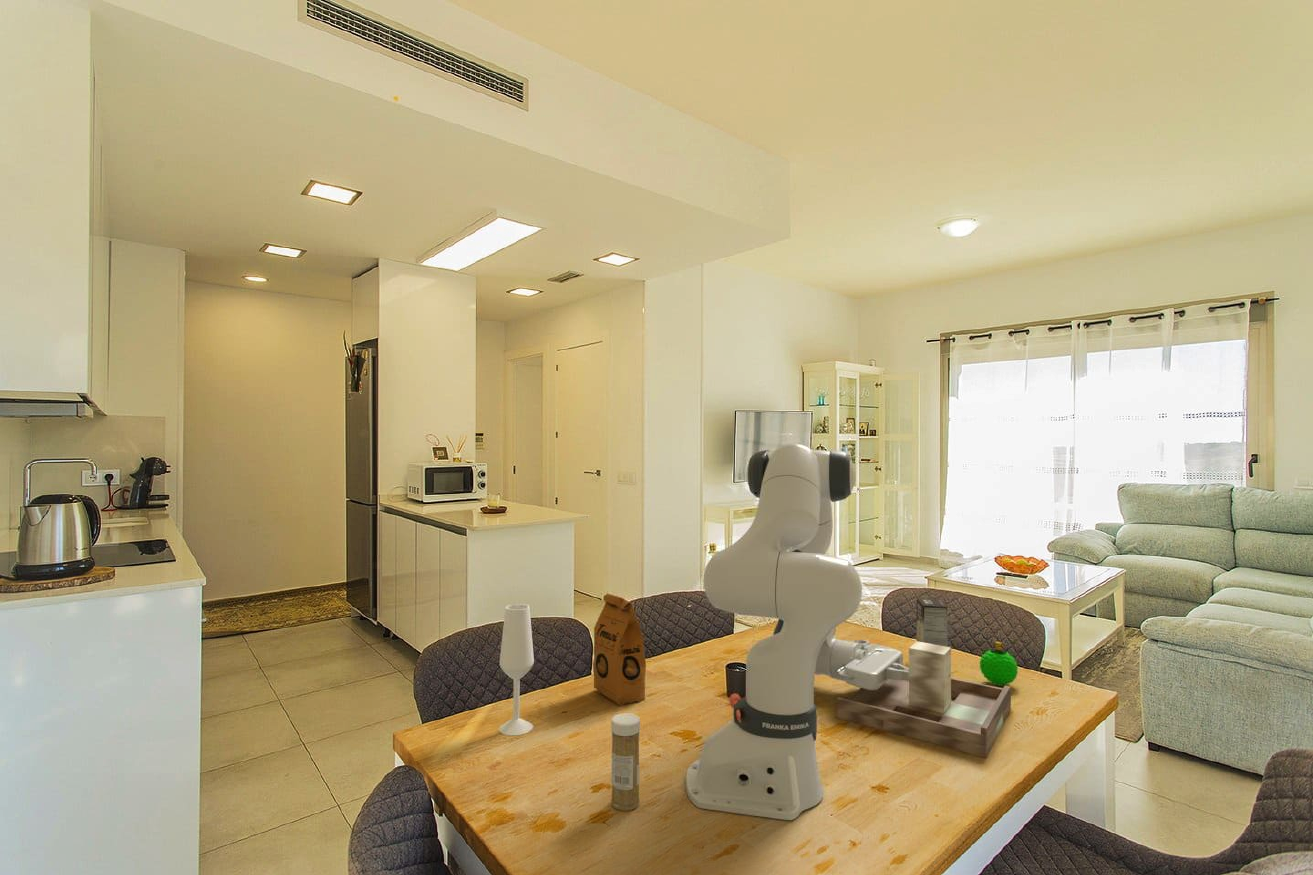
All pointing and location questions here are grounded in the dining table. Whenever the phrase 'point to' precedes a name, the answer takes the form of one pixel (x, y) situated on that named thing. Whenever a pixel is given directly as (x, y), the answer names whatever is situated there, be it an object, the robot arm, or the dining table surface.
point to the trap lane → (933, 714)
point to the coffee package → (619, 652)
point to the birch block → (930, 676)
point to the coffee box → (932, 621)
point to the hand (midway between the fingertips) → (912, 675)
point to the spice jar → (625, 761)
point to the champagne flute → (516, 659)
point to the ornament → (998, 666)
